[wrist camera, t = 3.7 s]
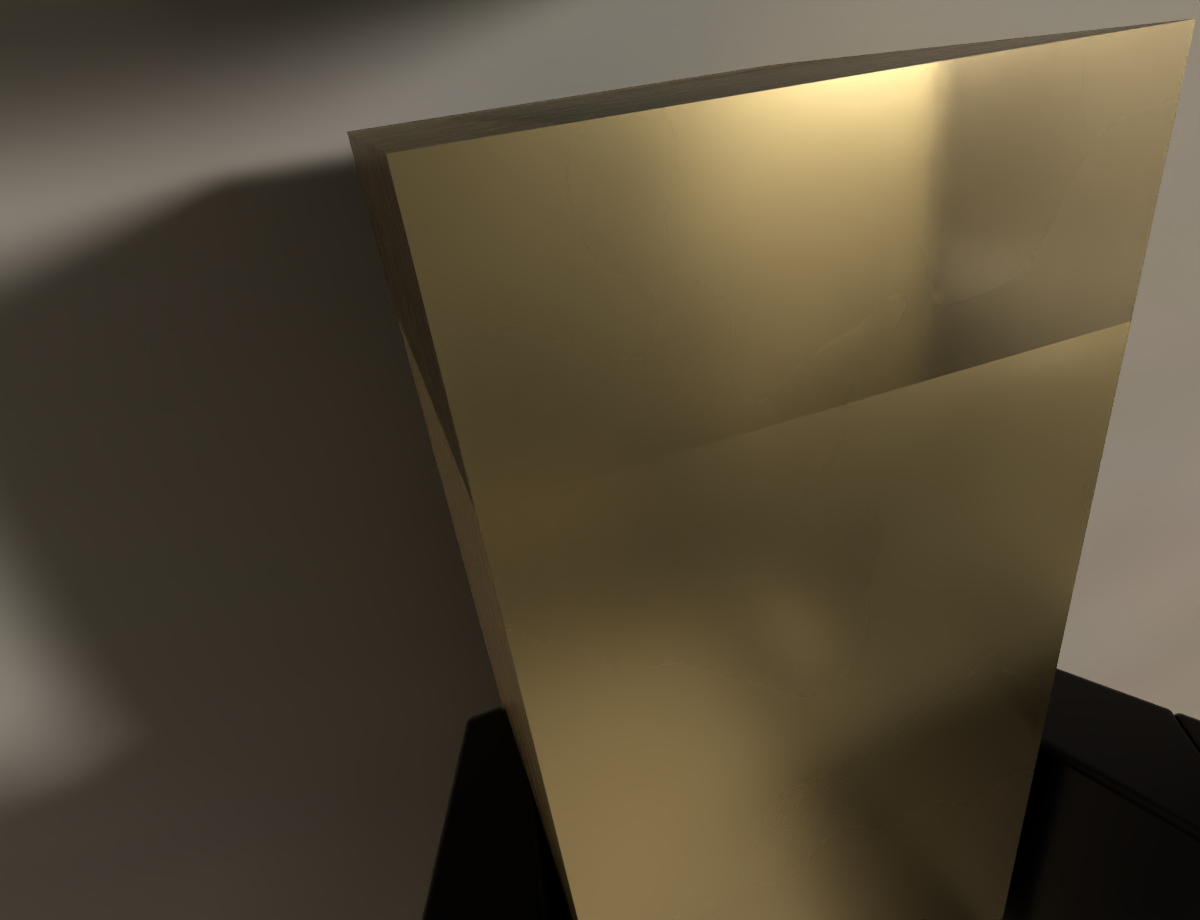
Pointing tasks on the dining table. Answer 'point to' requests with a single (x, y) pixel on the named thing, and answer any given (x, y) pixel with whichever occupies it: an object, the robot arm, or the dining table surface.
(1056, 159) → the peg
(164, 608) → the dining table surface
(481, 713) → the robot arm
